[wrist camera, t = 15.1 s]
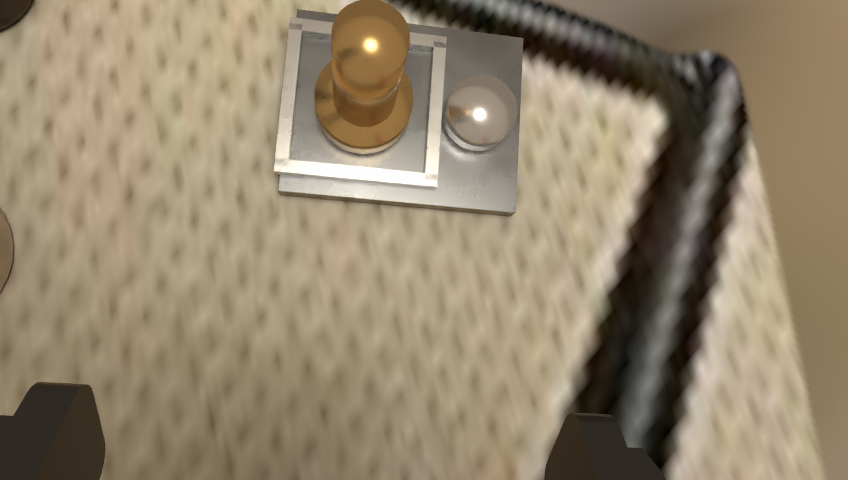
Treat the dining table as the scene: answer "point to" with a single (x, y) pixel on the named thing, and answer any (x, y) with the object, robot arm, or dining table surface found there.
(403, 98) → the brass knob
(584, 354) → the dining table surface
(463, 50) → the carrier
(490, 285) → the dining table surface
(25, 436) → the robot arm
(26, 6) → the supplement bottle
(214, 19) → the dining table surface
